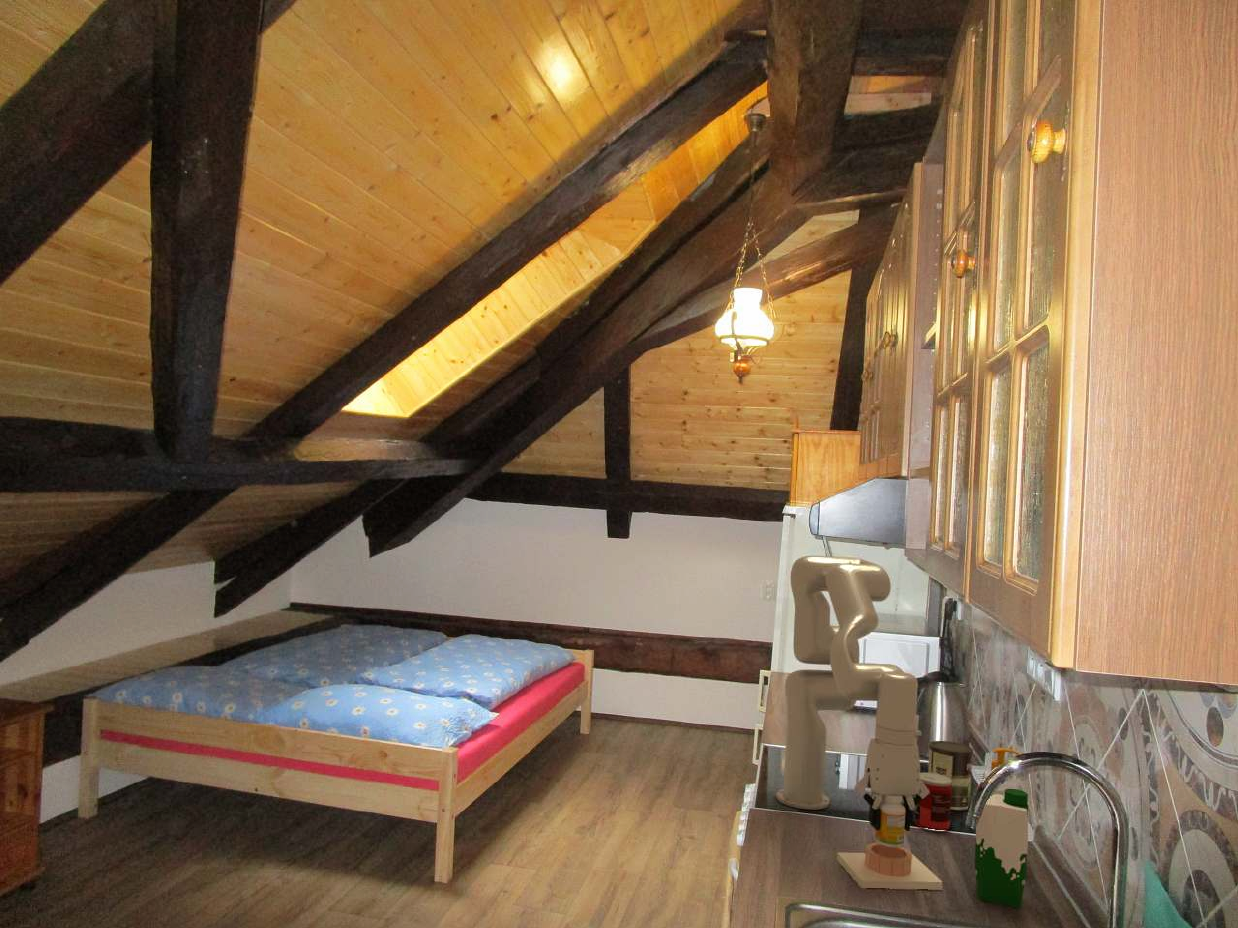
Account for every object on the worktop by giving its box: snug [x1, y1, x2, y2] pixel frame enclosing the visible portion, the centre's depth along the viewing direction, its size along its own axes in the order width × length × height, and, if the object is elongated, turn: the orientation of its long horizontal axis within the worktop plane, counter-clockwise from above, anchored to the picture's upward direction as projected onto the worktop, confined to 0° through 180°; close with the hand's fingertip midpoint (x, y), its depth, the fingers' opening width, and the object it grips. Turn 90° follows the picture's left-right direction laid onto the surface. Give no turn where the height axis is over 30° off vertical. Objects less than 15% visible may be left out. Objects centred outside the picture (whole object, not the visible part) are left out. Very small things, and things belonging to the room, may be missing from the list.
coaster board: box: [836, 852, 943, 891], centre depth 175 cm, size 13×16×2 cm
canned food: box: [913, 772, 952, 831], centre depth 204 cm, size 8×8×11 cm
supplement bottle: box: [874, 795, 906, 847], centre depth 175 cm, size 5×5×10 cm
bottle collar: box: [864, 842, 913, 876], centre depth 175 cm, size 9×9×3 cm
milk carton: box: [974, 788, 1029, 909], centre depth 168 cm, size 9×9×20 cm
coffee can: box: [927, 740, 974, 811], centre depth 221 cm, size 10×10×14 cm
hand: (889, 826), depth 175 cm, fingers closed on supplement bottle, 5 cm apart
